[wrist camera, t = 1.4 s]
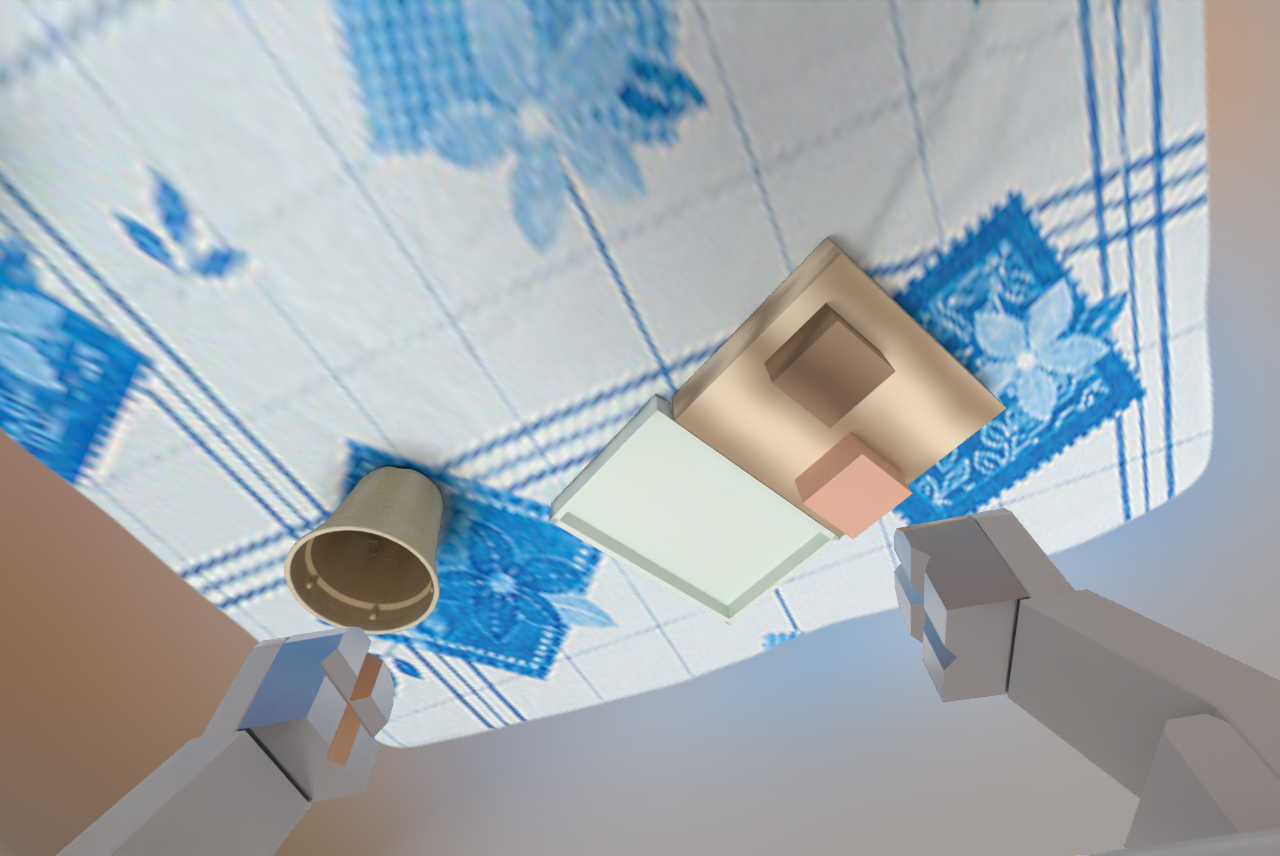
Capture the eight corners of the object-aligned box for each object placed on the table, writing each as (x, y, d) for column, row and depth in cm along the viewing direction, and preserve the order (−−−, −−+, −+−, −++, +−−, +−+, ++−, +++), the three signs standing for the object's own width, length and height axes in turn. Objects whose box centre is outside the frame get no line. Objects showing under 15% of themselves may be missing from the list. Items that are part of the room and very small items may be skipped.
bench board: (827, 237, 39) (841, 253, 37) (984, 385, 45) (1006, 408, 43) (671, 397, 45) (674, 420, 43) (829, 510, 51) (840, 537, 48)
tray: (655, 394, 45) (657, 409, 43) (833, 520, 52) (840, 538, 50) (551, 503, 50) (549, 521, 48) (726, 606, 56) (729, 625, 55)
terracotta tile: (850, 431, 43) (862, 454, 41) (898, 470, 45) (912, 493, 43) (794, 479, 45) (802, 503, 43) (842, 515, 47) (853, 538, 45)
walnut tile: (825, 302, 39) (837, 320, 36) (881, 351, 40) (895, 371, 38) (764, 363, 41) (772, 382, 38) (819, 407, 42) (829, 428, 40)
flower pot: (316, 515, 50) (264, 603, 43) (359, 423, 46) (310, 504, 38) (434, 561, 53) (405, 652, 45) (486, 480, 48) (462, 565, 41)
